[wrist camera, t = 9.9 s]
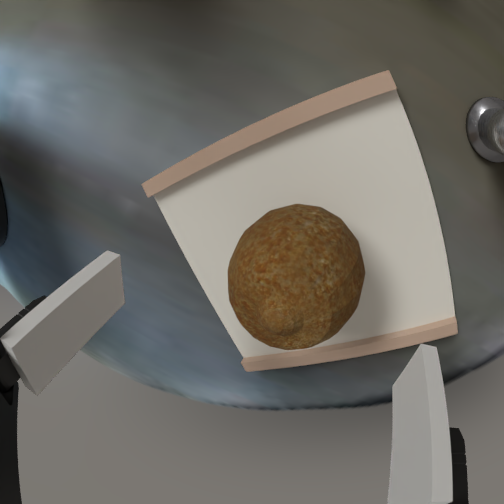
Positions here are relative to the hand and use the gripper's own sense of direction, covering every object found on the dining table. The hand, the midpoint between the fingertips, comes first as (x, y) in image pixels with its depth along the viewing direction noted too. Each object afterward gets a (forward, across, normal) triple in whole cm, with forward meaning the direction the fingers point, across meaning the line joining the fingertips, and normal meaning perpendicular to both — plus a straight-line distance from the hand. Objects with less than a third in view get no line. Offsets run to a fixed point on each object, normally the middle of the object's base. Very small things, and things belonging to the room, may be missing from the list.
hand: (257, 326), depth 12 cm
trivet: (+8, +1, 0) cm, 8 cm away
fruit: (+7, +1, +1) cm, 8 cm away
